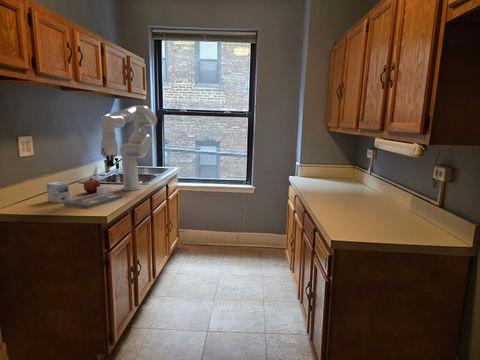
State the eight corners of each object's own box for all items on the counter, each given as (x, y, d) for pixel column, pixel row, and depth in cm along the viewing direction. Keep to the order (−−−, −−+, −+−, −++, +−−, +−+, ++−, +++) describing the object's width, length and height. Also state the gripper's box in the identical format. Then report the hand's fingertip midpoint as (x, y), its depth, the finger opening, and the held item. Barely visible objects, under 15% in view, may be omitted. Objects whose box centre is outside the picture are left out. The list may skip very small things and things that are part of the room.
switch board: (99, 195, 204) (99, 190, 203) (122, 198, 198) (121, 192, 197) (63, 205, 180) (63, 199, 180) (88, 208, 174) (87, 202, 173)
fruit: (101, 193, 209) (100, 178, 207) (84, 195, 205) (83, 179, 203) (100, 190, 218) (99, 176, 217) (83, 192, 214) (82, 177, 212)
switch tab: (102, 194, 198) (101, 185, 197) (108, 194, 196) (108, 186, 195) (97, 195, 194) (96, 187, 193) (103, 196, 192) (103, 187, 191)
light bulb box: (70, 200, 191) (68, 182, 189) (60, 203, 185) (58, 184, 183) (58, 198, 195) (56, 181, 193) (47, 201, 189) (45, 183, 187)
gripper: (113, 135, 204) (115, 164, 208) (94, 136, 190) (96, 167, 194) (122, 136, 201) (124, 165, 205) (104, 137, 188) (106, 168, 191)
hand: (110, 166), depth 199 cm, fingers closed
